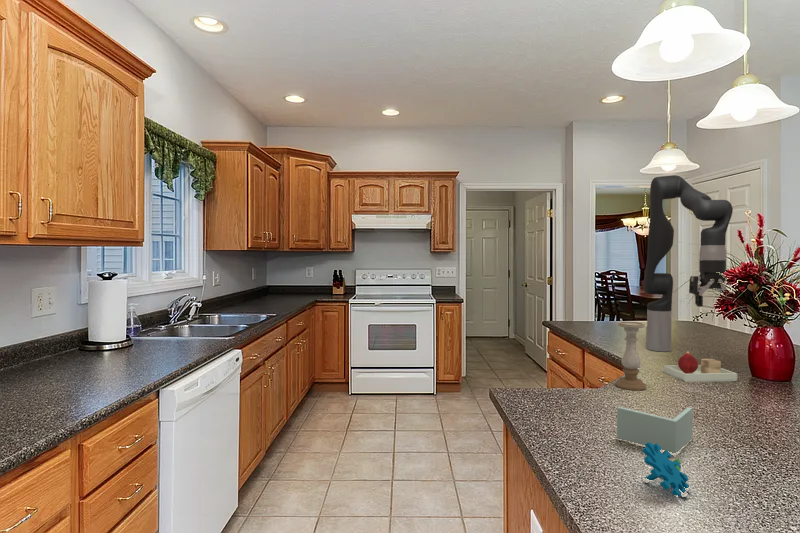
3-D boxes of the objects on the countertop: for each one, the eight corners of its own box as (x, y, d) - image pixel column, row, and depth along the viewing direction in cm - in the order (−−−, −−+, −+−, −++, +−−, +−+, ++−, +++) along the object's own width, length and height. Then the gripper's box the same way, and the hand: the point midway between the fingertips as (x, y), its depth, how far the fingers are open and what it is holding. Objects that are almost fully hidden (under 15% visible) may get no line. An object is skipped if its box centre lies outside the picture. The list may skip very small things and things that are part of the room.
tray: (663, 372, 162) (663, 365, 162) (712, 371, 162) (712, 364, 162) (684, 381, 150) (684, 374, 150) (737, 381, 151) (737, 373, 151)
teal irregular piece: (678, 500, 77) (639, 443, 83) (650, 514, 80) (614, 458, 86) (704, 488, 83) (666, 436, 89) (678, 502, 86) (642, 451, 92)
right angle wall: (692, 440, 104) (692, 407, 104) (675, 456, 96) (675, 421, 96) (636, 425, 113) (636, 395, 113) (616, 439, 105) (617, 407, 105)
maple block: (700, 373, 158) (701, 358, 158) (712, 373, 159) (712, 358, 158) (708, 376, 154) (709, 361, 154) (720, 376, 155) (720, 361, 154)
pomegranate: (701, 377, 153) (702, 353, 153) (684, 377, 153) (685, 353, 153) (690, 372, 159) (691, 349, 159) (674, 372, 159) (674, 349, 159)
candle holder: (624, 390, 141) (625, 325, 140) (610, 382, 150) (610, 321, 149) (652, 390, 141) (652, 325, 141) (636, 382, 150) (637, 320, 150)
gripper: (725, 258, 159) (724, 304, 159) (684, 258, 159) (684, 305, 159) (741, 258, 151) (740, 307, 152) (699, 259, 151) (698, 308, 152)
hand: (711, 306), depth 156 cm, fingers open, 8 cm apart
